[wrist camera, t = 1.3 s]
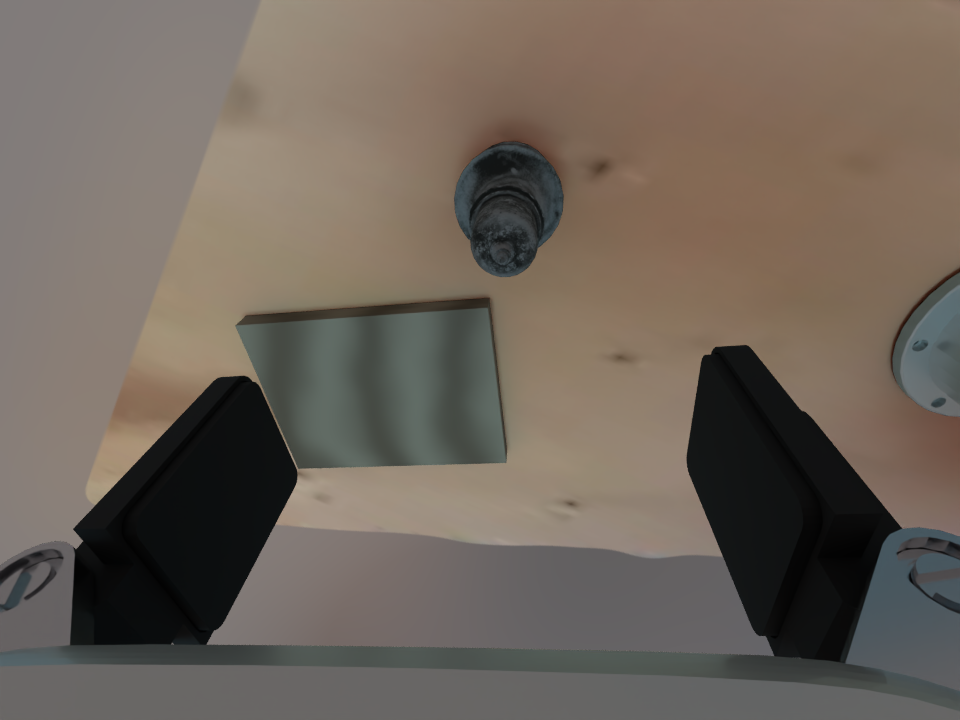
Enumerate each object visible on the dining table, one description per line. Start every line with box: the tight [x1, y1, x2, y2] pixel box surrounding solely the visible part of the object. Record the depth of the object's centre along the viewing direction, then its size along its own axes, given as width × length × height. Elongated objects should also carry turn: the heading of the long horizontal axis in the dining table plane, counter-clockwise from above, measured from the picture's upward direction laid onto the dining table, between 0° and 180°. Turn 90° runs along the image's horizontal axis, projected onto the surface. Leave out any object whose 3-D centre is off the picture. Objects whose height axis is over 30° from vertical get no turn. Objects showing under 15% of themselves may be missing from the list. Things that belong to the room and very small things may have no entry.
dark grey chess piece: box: [454, 142, 564, 277], centre depth 23 cm, size 6×6×12 cm
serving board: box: [235, 298, 507, 469], centre depth 36 cm, size 18×14×2 cm
